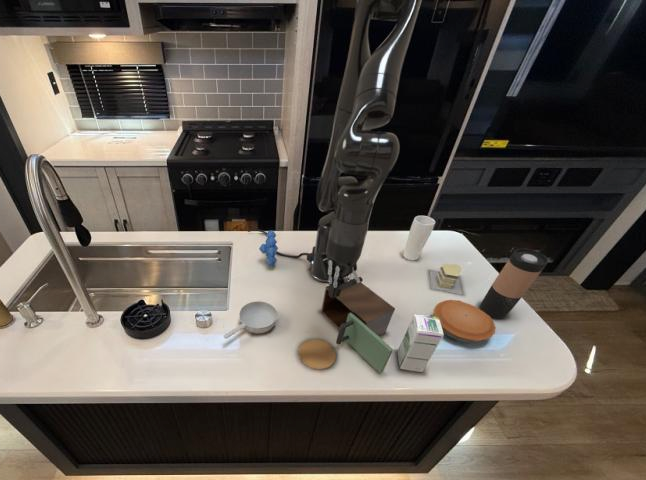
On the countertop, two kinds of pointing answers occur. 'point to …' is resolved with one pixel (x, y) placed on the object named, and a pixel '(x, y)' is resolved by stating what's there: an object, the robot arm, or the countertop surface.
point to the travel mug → (513, 282)
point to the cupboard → (358, 308)
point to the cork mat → (317, 354)
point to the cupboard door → (365, 342)
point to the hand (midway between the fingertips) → (333, 295)
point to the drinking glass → (418, 236)
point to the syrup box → (419, 342)
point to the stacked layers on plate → (447, 278)
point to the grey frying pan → (256, 318)
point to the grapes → (270, 248)
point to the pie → (464, 321)
